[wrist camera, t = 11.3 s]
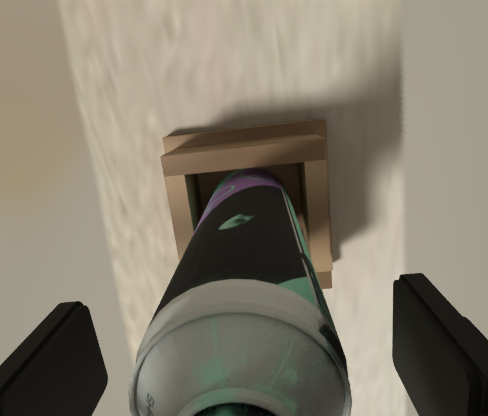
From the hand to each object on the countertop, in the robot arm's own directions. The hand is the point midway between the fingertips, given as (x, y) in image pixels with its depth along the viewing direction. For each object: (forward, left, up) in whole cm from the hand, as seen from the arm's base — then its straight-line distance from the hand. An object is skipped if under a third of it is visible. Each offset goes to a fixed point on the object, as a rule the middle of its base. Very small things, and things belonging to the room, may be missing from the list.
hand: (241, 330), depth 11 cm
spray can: (0, 0, -15) cm, 15 cm away
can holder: (0, 0, -16) cm, 16 cm away
